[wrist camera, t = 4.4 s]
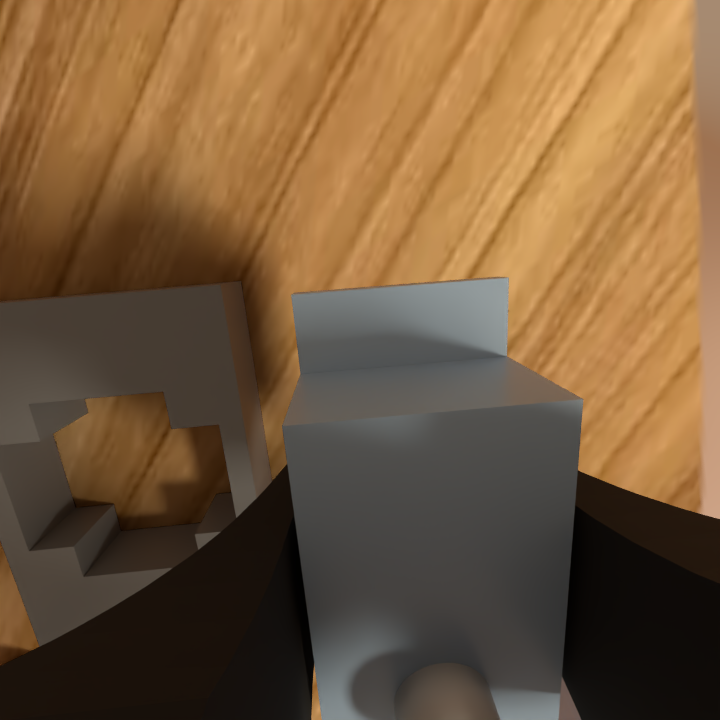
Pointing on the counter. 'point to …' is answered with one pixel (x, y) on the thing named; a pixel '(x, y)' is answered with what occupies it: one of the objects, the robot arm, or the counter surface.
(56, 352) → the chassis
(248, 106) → the counter surface
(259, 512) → the robot arm
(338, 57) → the counter surface
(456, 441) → the block
